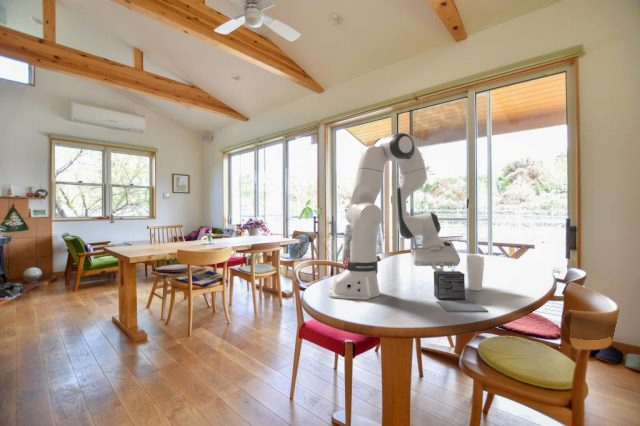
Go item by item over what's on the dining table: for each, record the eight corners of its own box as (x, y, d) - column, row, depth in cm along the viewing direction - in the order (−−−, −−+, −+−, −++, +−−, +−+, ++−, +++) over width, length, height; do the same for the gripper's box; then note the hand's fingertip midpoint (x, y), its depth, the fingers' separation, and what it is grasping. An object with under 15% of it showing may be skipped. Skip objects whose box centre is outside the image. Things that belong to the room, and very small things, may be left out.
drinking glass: (483, 292, 130) (483, 257, 130) (465, 290, 134) (465, 256, 133) (484, 288, 136) (484, 255, 136) (467, 287, 139) (467, 254, 139)
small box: (459, 295, 126) (459, 270, 126) (465, 300, 120) (465, 274, 119) (433, 295, 127) (433, 270, 127) (437, 300, 121) (437, 273, 121)
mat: (447, 312, 107) (447, 310, 107) (436, 302, 118) (436, 301, 118) (488, 312, 106) (488, 310, 106) (473, 302, 117) (473, 301, 117)
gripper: (411, 243, 141) (417, 268, 132) (456, 243, 141) (465, 268, 131) (409, 251, 146) (414, 276, 136) (452, 251, 145) (461, 276, 135)
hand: (439, 272), depth 134 cm, fingers closed
